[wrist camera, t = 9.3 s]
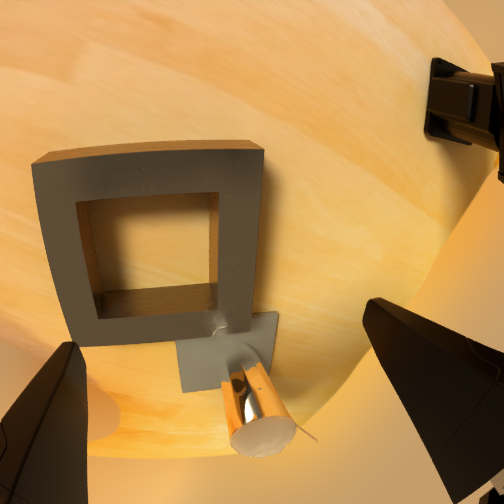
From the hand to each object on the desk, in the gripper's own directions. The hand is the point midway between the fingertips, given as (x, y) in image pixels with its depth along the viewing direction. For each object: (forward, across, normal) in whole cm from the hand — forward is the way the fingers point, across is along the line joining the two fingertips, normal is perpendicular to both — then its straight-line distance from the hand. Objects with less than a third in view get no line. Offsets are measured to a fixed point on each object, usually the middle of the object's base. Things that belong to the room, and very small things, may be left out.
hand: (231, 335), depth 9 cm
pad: (+12, -2, +14) cm, 18 cm away
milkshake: (+12, -3, +13) cm, 18 cm away
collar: (+12, +3, +2) cm, 13 cm away
